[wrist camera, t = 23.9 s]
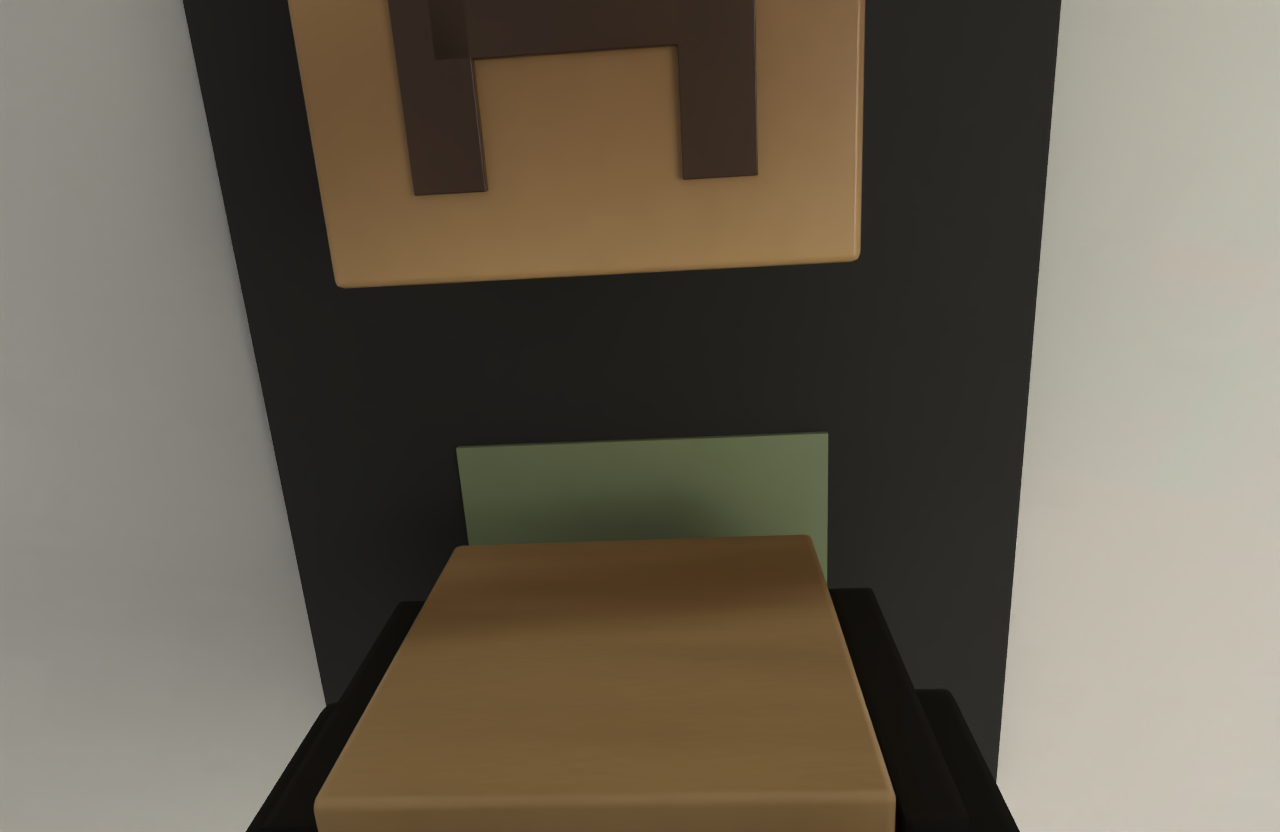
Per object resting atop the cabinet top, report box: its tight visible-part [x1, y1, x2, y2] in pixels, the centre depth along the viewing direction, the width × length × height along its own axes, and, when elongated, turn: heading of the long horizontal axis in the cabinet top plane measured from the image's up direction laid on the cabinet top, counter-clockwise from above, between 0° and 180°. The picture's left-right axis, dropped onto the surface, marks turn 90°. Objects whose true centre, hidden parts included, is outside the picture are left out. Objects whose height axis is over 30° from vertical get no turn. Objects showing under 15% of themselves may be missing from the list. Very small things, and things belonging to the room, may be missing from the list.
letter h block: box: [288, 0, 865, 289], centre depth 9 cm, size 4×4×5 cm
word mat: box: [183, 0, 1061, 782], centre depth 11 cm, size 24×11×1 cm, turn 3°
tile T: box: [314, 534, 896, 832], centre depth 9 cm, size 4×4×5 cm
